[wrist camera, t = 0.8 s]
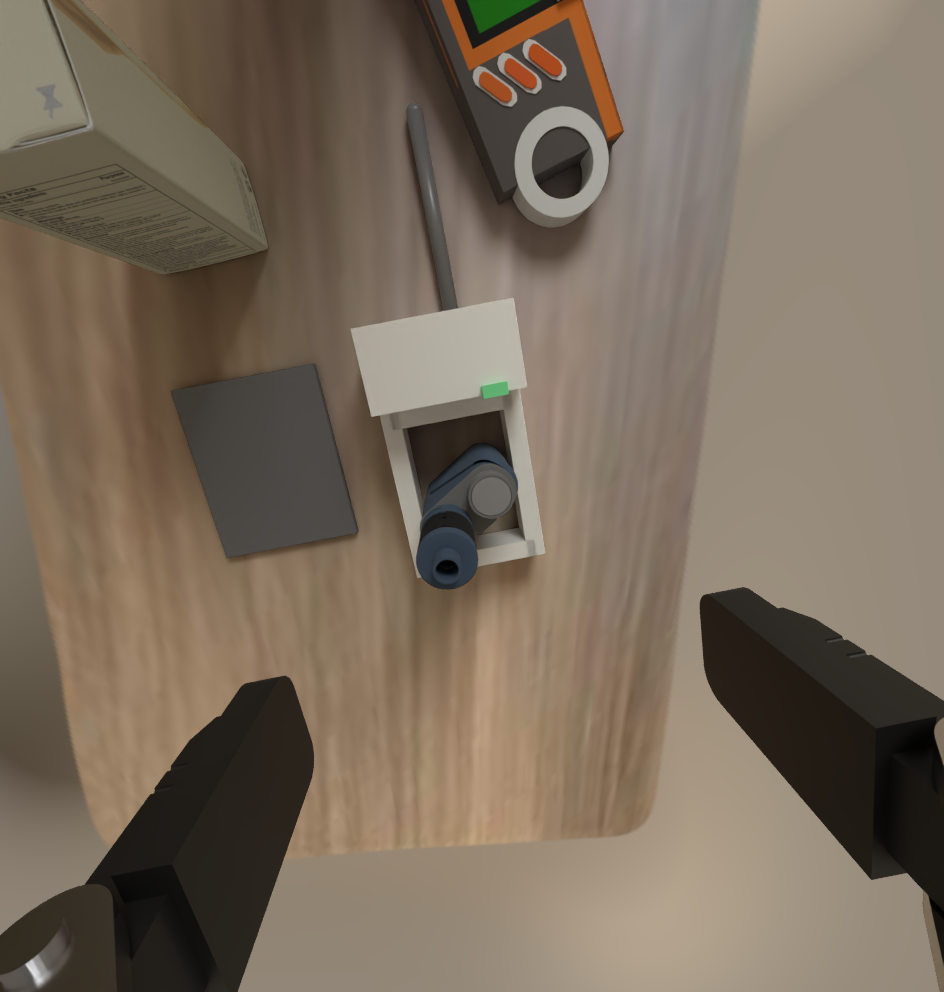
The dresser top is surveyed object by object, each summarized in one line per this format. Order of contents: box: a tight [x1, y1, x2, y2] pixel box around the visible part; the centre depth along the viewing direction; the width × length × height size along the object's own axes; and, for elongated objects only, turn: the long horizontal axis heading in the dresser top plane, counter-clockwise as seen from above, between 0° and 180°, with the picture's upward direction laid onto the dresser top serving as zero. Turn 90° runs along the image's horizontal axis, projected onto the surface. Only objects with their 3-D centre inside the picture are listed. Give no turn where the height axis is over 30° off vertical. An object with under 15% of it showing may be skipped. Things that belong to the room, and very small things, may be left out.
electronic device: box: [415, 0, 624, 228], centre depth 22 cm, size 7×3×15 cm
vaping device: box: [416, 443, 518, 589], centre depth 22 cm, size 3×5×12 cm, turn 132°
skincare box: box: [0, 0, 268, 275], centre depth 18 cm, size 6×4×12 cm
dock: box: [351, 103, 545, 578], centre depth 23 cm, size 24×8×5 cm, turn 11°
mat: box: [171, 364, 358, 558], centre depth 27 cm, size 10×8×1 cm
